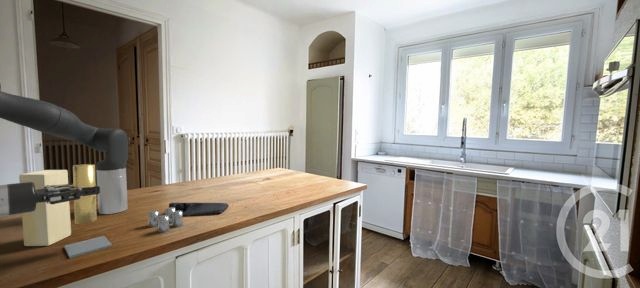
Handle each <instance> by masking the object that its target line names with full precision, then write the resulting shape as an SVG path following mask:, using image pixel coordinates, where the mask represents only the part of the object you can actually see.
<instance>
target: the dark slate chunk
mask: <svg viewBox="0 0 640 288" xmlns="http://www.w3.org/2000/svg"><path fill="white" fill-rule="evenodd" d="M170 207H175V211H179V210H181V211H183V217H192V216H206V215H210V216H211V215H217V214H221V213H222V212H223V211H225V210H226V209H227V208H229V204H228V203H226V202H169V204H168V208H170Z"/></svg>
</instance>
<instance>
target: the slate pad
mask: <svg viewBox="0 0 640 288" xmlns="http://www.w3.org/2000/svg"><path fill="white" fill-rule="evenodd" d="M63 247H64V250H65V252H66V254H67V256H68V258H69V259H73V258H76V257H79V256H83V255H86V254H90V253H93V252H96V251H101V250H105V249H108V248H111V247H113V244H112V242H111V241H109V240H108V238H107V237H106V236H105V235H102V236H97V237H93V238H90V239H85V240H82V241H76V242H74V243H70V244H65V245H64V246H63Z"/></svg>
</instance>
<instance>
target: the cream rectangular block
mask: <svg viewBox="0 0 640 288" xmlns="http://www.w3.org/2000/svg"><path fill="white" fill-rule="evenodd" d="M68 176H69V173H68V170H67V169H44V170H39V171H38V170H37V171H32V172H27V173H20V174H19V175H18V178H19V179H18V181H19V183H25V182H33V183H34V184H35V190H37V189H43V188H44V186H46V185H62V184H69V177H68ZM70 208H71V207H70V201H67V202H62V203H57V204H50V203H47V202H39V203H36V210H35V211H33V212H27V213H21V216H22V220H21V221H22V233H23V245H24V247H41V246H42V247H43V246H45V247H46V246H50V245H53V244H55V243H57V242H59V241H61V240H63V239H65V238H67V237H69V236H71V235H72V227H71V226H72V224H71V223H72V222H71V211H70Z"/></svg>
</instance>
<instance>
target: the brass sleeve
mask: <svg viewBox="0 0 640 288" xmlns="http://www.w3.org/2000/svg"><path fill="white" fill-rule="evenodd" d="M72 179H73V181H72V182H73V183H72V184H74V188H85V187H93V186H97V184H96V164H94V163H92V164H91V163H84V164H75V165H72ZM95 184H96V185H95ZM73 205H74V206H73V207H74V209H73V210H74V224H77V225H82V224H84V225H85V224H90V223H93V222H95V221H97V219H98V218H97V194H95V195H88V196H82V197H81V198H80V199H78V200H73Z"/></svg>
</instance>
